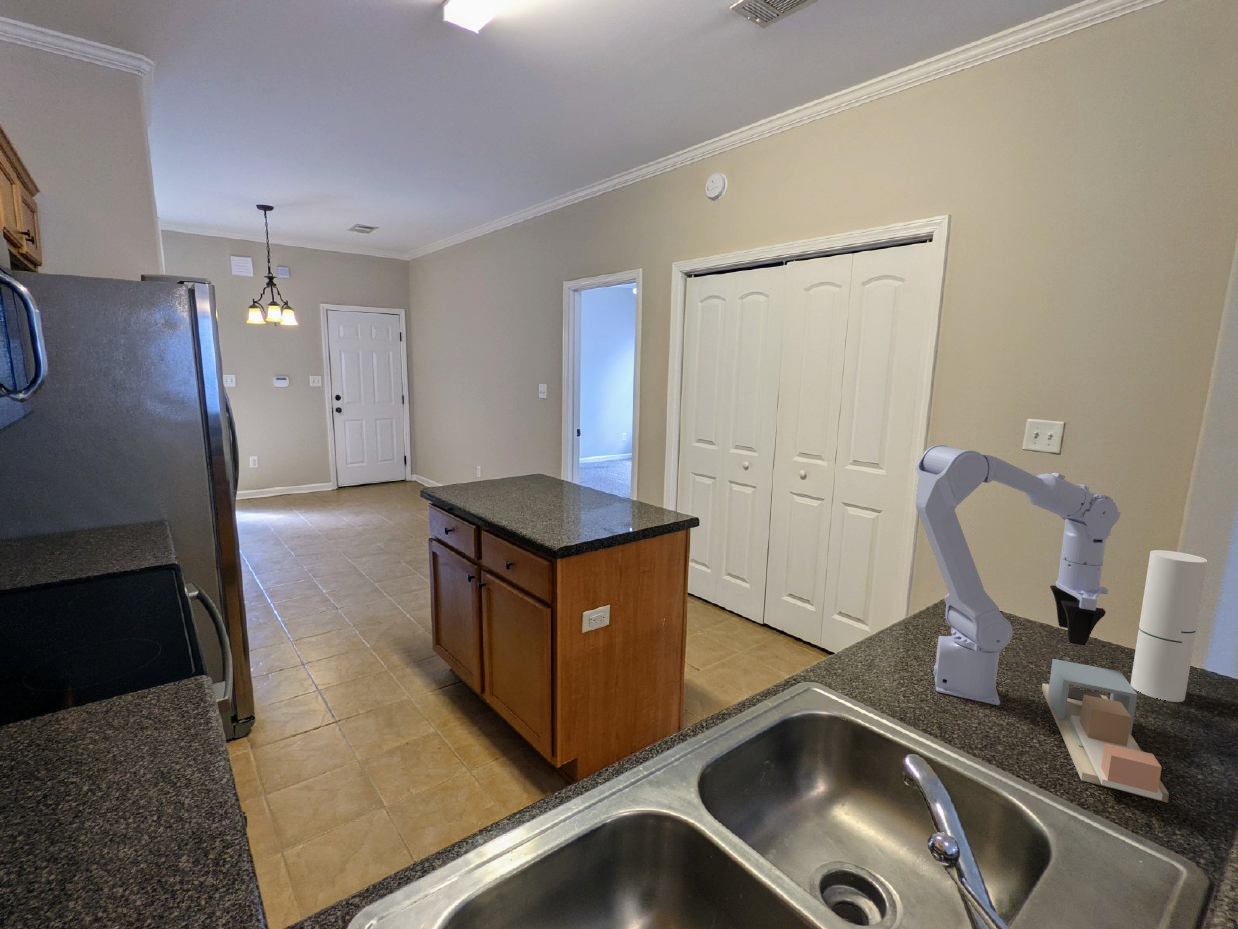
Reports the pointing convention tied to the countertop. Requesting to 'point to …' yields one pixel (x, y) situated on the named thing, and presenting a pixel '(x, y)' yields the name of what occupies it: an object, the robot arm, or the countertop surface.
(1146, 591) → the cylindrical container
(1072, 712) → the board
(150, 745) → the countertop surface
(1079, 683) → the tunnel
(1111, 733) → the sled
